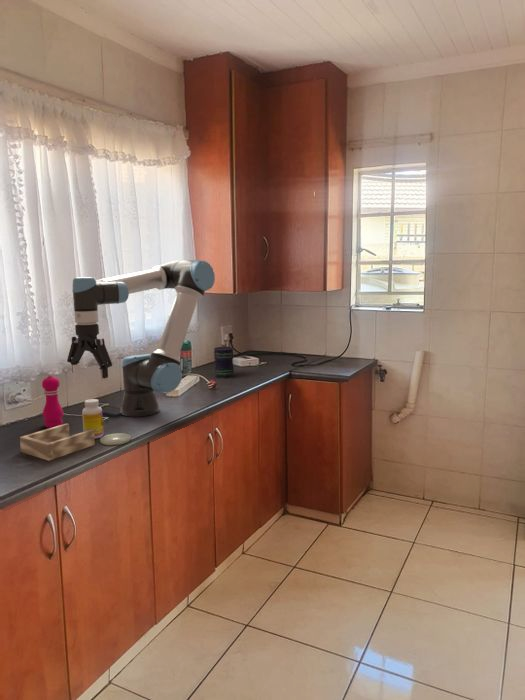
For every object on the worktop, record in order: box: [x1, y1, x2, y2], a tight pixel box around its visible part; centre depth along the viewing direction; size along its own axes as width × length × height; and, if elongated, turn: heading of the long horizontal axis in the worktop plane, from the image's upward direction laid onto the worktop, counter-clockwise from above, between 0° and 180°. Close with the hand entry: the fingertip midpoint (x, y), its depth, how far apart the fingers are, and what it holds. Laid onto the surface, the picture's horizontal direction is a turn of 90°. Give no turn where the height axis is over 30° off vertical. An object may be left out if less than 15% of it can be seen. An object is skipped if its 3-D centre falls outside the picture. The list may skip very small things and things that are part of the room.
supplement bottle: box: [81, 398, 105, 440], centre depth 192 cm, size 7×7×13 cm
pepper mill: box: [41, 372, 64, 429], centre depth 205 cm, size 7×7×20 cm
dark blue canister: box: [213, 346, 234, 380], centre depth 287 cm, size 10×10×15 cm
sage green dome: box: [99, 432, 132, 446], centre depth 188 cm, size 10×10×1 cm
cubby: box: [19, 423, 96, 462], centre depth 181 cm, size 18×14×5 cm
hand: (90, 385), depth 190 cm, fingers open, 13 cm apart
